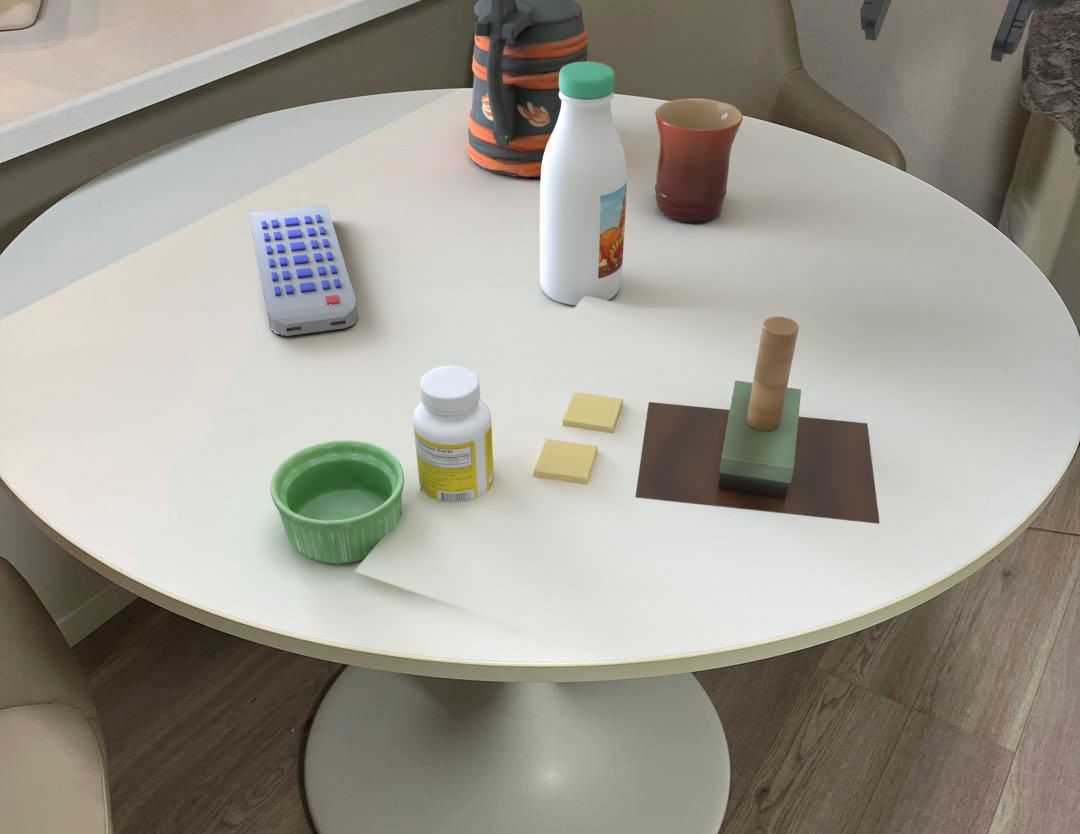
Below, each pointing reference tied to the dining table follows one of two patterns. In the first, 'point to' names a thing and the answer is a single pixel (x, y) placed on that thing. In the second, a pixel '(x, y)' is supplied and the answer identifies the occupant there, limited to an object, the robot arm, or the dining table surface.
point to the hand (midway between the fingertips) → (932, 44)
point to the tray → (815, 490)
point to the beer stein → (520, 79)
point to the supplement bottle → (453, 436)
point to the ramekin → (338, 499)
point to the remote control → (302, 271)
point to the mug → (694, 157)
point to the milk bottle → (583, 190)
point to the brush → (764, 419)
